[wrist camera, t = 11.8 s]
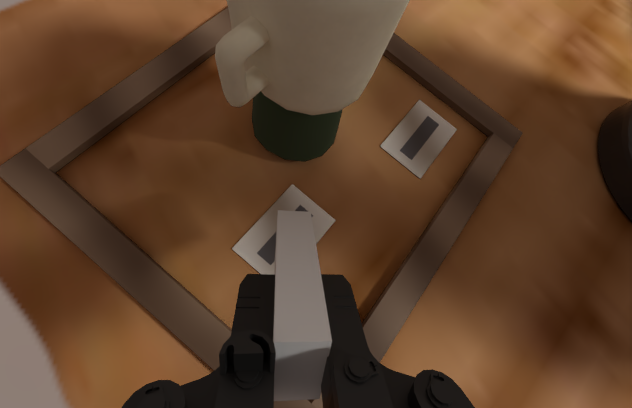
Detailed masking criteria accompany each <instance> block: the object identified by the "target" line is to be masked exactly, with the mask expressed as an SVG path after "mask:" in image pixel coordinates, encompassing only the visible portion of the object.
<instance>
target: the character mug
mask: <svg viewBox="0 0 632 408" xmlns="http://www.w3.org/2000/svg"><path fill="white" fill-rule="evenodd" d="M409 1H410V0H227V4H228V9H229V14H230V20H231V28H232V30H231V31H229V32H228V33H227V34H225V35H224V36H223V37H222V38H221V40H220V41H219V42H218V43H217V44H216V49H215V59H216V64H217V68H218V72H219V77H220V81H221V85H222V89H223V93H224V95H225V97H226V99H227V101H228V102H229V104H230V105H231V106H235V107H241V106H243V105H245V104H247V103H248V102H249V101H250V100H251V99H252V98H253V109H252V122H253V128H254V134H255V137H256V138H257V139H258V140H259V141H260V143H261V144H262V145H263V146H264V147H265V148H266V150H268V151H270V152H272V153H274V154H276V155H278V156H279V157H281V158H283V159H287V160H296V161H307V160H311V159H314V158H317V157H320V156H322V155H323V154H324V153H325V152H326V151H327V150H328V149H329V148H330V147H331V146H332V144H333V143H334V140H335V137H336V133H337V129H338V125H339V121H340V117H341V113H342V109H343V108H345V107H346V106H348V105H350V104H351V103H353V102H355V101H356V100H358V98H359V97H360V95H361V94H362V92H363V91H364V89H365V87H366V86H367V84H368V82H369V80H370V79H371V77H372V75H373V74H374V72H375V69H376V67H377V65H378V63H379V61H380V59H381V57H382V55H383V53H384V51H385V49H386V47H387V45H388V43H389V41H390V39H391V37H392V35H393V33H394V31H395V29H396V27H397V25H398V23H399V21H400V19H401V17H402V15H403V13H404V11H405V9H406V7H407V5H408V3H409Z"/></svg>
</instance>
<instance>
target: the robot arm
mask: <svg viewBox="0 0 632 408" xmlns="http://www.w3.org/2000/svg"><path fill="white" fill-rule="evenodd" d="M598 152H599V160H600V164H601V168H602V172H603V175H604V177H605V180H606V182H607V184H608V187H609V189H610V191H611V193H612V194H613V196H614V198H615V199H616V201H617V202H618V204H619V206H620V207H621V208H622V210H623V211H624V212H625V214H626V215H627V216H628V217H629V218H630V219H631V221H632V101H631V102H629V103H627V104H625V105H623V106H621V107H619V108H617V109H615V110H614V111H613V112H611V113H610V114H609V115H608V117H607V118H606V119H605V121H604V123H603V125H602V127H601V130H600V134H599V140H598ZM219 363H220V366H219V367H218V368H217V369H216V370H215V371H213V372H212V373H211V374H209V375H207V376H205V377H203V378H201V379H198V380H196V381H193V382H190V383H187V384H184V385H182V386H179V384H177V383H175V382H173V381H171V380H158V381H155V382H152V383H149V384H146V385H145V386H143V387H142V388H140V389H139V390H137V391H136V392H134V393H133V395H132V396H131V397H130V398H129V399H128V400H127V401H126V402H125V404H124V405H123V406H122V408H274V401H289V400H310V399H320V394H321V393H322V402H323V408H475V407H474V406H473V405H472V403H471V402H470V401H469V399H468V398H467V397H466V395H465V394H464V392H463V391H462V390H461V388H460V387H459V386H458V385H457V384H456V383H455V382H454V381H453V380H452V379H451V378H450V377H448V376H446V375H445V374H443V373H442V372H438V371H435V370H423V371H422V372H420V373H419V374H417V376H416V378H415V377H412V376H409V375H405V374H402V373H399V372H396V371H393V370H391V369H388V368H386V367H385V366H383V365H382V364H380V363H379V362H378V360H377V359H376V358H375V357H374V356H373V355H372V353H371V352H370V350H369V347H368V345H367V341H366V338H365V334H364V331H363V327H362V323H361V320H360V316H359V313H358V309H357V306H356V302H355V299H354V295H353V291H352V288H351V285H350V283H349V282H348V281H347V280H346V278H345V277H344V276H343V275H326V274H321V271H320V265H319V259H318V253H317V247H316V241H315V235H314V229H313V223H312V217H311V212H305V211H284V210H278V214H277V231H276V249H275V271H274V275H272V274H247V276H246V277H245V278H244V280H243V281H242V282H241V284H240V287H239V293H238V299H237V304H236V310H235V315H234V321H233V326H232V332H231V336H230V337H229V339H228V340H227V341H226V342H225V343H224V344H223V346H222V348H221V350H220V353H219Z"/></svg>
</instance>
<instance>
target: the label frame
mask: <svg viewBox="0 0 632 408" xmlns="http://www.w3.org/2000/svg"><path fill="white" fill-rule="evenodd" d="M231 30H232V28H231V20H230V14H229V9H228V7H227V8H226V9H225V10H223V11H222V12H220V13H219V14H217V15H216V16H215V17H213V18H212V19H210V20H209V21H207V22H206V23H205V24H203V25H202V26H200V27H199V28H197V29H196V30H194V31H193V32H192V33H190V34H189V35H187V36H186V37H184V38H183V39H182V40H180V41H179V42H177V43H176V44H174V45H173V46H171V47H170V48H169V49H167V50H166V51H164V52H163V53H161V54H160V55H159V56H157V57H156V58H154V59H153V60H151V61H150V62H149V63H147V64H146V65H144V66H143V67H141V68H140V69H138V70H137V71H136V72H134V73H133V74H131V75H130V76H128V77H127V78H126V79H124V80H123V81H121V82H120V83H118V84H117V85H115V86H114V87H113V88H111V89H110V90H108V91H107V92H105V93H104V94H103V95H101V96H100V97H98V98H97V99H95V100H94V101H92V102H91V103H90V104H88V105H87V106H85V107H84V108H82V109H81V110H80V111H78V112H77V113H75V114H74V115H72V116H71V117H70V118H68V119H67V120H65V121H64V122H62V123H61V124H59V125H58V126H57V127H55V128H54V129H52V130H51V131H49V132H48V133H47V134H45V135H44V136H42V137H41V138H39V139H38V140H36V141H35V142H34V143H32V144H31V145H29V146H28V147H26V148H25V149H24V150H22V151H21V152H19V153H18V154H16V155H15V156H14V157H12V158H11V159H9V160H8V161H6V162H5V163H3V164H2V165H1V166H0V177H1V178H2V179H4V180H5V181H6V182H7V183H8V184H9V185H10V186H11V187H12V188H13V189H15V190H16V191H17V192H18V193H19V194H20V195H21V196H22V197H23V198H24V199H26V200H27V201H28V202H29V203H30V204H31V205H32V206H33V207H34V208H36V209H37V210H38V211H39V212H40V213H41V214H42V215H43V216H44V217H45V218H47V219H48V220H49V221H50V222H51V223H52V224H53V225H54V226H55V227H56V228H58V229H59V230H60V231H61V232H62V233H63V234H64V235H65V236H66V237H67V238H69V239H70V240H71V241H72V242H73V243H74V244H75V245H76V246H77V247H79V248H80V249H81V250H82V251H83V252H84V253H85V254H86V255H87V256H88V257H90V258H91V259H92V260H93V261H94V262H95V263H96V264H97V265H98V266H99V267H101V268H102V269H103V270H104V271H105V272H106V273H107V274H108V275H109V276H110V277H112V278H113V279H114V280H115V281H116V282H117V283H118V284H119V285H120V286H122V287H123V288H124V289H125V290H126V291H127V292H128V293H129V294H130V295H131V296H133V297H134V298H135V299H136V300H137V301H138V302H139V303H140V304H141V305H142V306H144V307H145V308H146V309H147V310H148V311H149V312H150V313H151V314H152V315H153V316H155V317H156V318H157V319H158V320H159V321H160V322H161V323H162V324H163V325H165V326H166V327H167V328H168V329H169V330H170V331H171V332H172V333H173V334H174V335H176V336H177V337H178V338H179V339H180V340H181V341H182V342H183V343H184V344H185V345H187V346H188V347H189V348H190V349H191V350H192V351H193V352H194V353H195V354H196V355H198V356H199V357H200V358H201V359H202V360H203V361H204V362H205V363H206V364H208V365H209V366H210V367H211V368H212V369H213V370H214V371H215V370H216V369H217V368H218V367H219V366H220V363H219V353H220V350H221V348H222V346H223V344H224V343H225V342H226V341H227V340H228V339H229V337H230V336H231V332H232V330H231V329H230V328H229V327H228V326H227V325H226V324H225V323H224V322H222V321H221V320H220V319H219V318H218V317H217V316H216V315H215V314H213V313H212V312H211V311H210V310H209V309H208V308H207V307H206V306H204V305H203V304H202V303H201V302H200V301H199V300H198V299H197V298H196V297H194V296H193V295H192V294H191V293H190V292H189V291H188V290H187V289H185V288H184V287H183V286H182V285H181V284H180V283H179V282H178V281H176V280H175V279H174V278H173V277H172V276H171V275H170V274H169V273H167V272H166V271H165V270H164V269H163V268H162V267H161V266H160V265H158V264H157V263H156V262H155V261H154V260H153V259H152V258H151V257H150V256H148V255H147V254H146V253H145V252H144V251H143V250H142V249H141V248H139V247H138V246H137V245H136V244H135V243H134V242H133V241H132V240H130V239H129V238H128V237H127V236H126V235H125V234H124V233H123V232H121V231H120V230H119V229H118V228H117V227H116V226H115V225H114V224H112V223H111V222H110V221H109V220H108V219H107V218H106V217H105V216H104V215H102V214H101V213H100V212H99V211H98V210H97V209H96V208H95V207H93V206H92V205H91V204H90V203H89V202H88V201H87V200H86V199H84V198H83V197H82V196H81V195H80V194H79V193H78V192H77V191H75V190H74V189H73V188H72V187H71V186H70V185H69V184H68V183H66V182H65V181H64V180H63V179H62V178H61V177H60V176H59V175H58V174H56V172H57V171H58V170H60V169H61V168H62V167H64V166H65V165H66V164H68V163H69V162H70V161H72V160H73V159H74V158H76V157H77V156H78V155H80V154H81V153H82V152H84V151H85V150H86V149H88V148H89V147H90V146H92V145H93V144H94V143H96V142H97V141H98V140H100V139H101V138H102V137H104V136H105V135H106V134H108V133H109V132H110V131H112V130H113V129H114V128H116V127H117V126H118V125H120V124H121V123H122V122H124V121H125V120H126V119H128V118H129V117H130V116H132V115H133V114H134V113H136V112H137V111H138V110H140V109H141V108H142V107H144V106H145V105H146V104H148V103H149V102H150V101H152V100H153V99H154V98H156V97H157V96H158V95H160V94H161V93H162V92H164V91H165V90H166V89H168V88H169V87H170V86H172V85H173V84H174V83H176V82H177V81H178V80H180V79H181V78H182V77H183V76H185V75H186V74H187V73H189V72H190V71H191V70H193V69H194V68H195V67H197V66H198V65H199V64H201V63H202V62H203V61H205V60H206V59H207V58H209V57H210V56H211V55H213V54H214V53H215V49H216V44H217V43H218V42H219V41H220V40H221V38H222V37H223V36H224V35H225V34H227V33H228V32H229V31H231ZM383 55H385V56H386V57H387V58H389V59H390V60H391V61H392V62H394V63H395V64H396V65H397V66H399V67H400V68H401V69H403V70H404V71H405V72H406V73H408V74H409V75H410V76H412V77H413V78H414V79H415V80H417V81H418V82H419V83H420V84H422V85H423V86H424V87H426V88H427V89H428V90H429V91H431V92H432V93H433V94H434V95H436V96H437V97H438V98H440V99H441V100H442V101H443V102H445V103H446V104H447V105H449V106H450V107H451V108H452V109H454V110H455V111H456V112H457V113H459V114H460V115H461V116H463V117H464V118H465V119H466V120H468V121H469V122H470V123H471V124H473V125H474V126H475V127H477V128H478V129H479V130H480V131H482V132H483V133H484V134H486V135H487V136H488V138H487V140H486V141H485V143H484V144H483V145H482V147H481V148H480V150H479V151H478V153H477V154H476V156H475V157H474V159H473V160H472V162H471V163H470V165H469V166H468V168H467V169H466V171H465V172H464V174H463V175H462V176H461V178H460V179H459V181H458V182H457V184H456V185H455V187H454V188H453V190H452V191H451V193H450V194H449V196H448V197H447V199H446V200H445V202H444V203H443V205H442V206H441V207H440V209H439V210H438V212H437V213H436V215H435V216H434V218H433V219H432V221H431V222H430V224H429V225H428V227H427V228H426V230H425V231H424V233H423V234H422V235H421V237H420V238H419V240H418V241H417V243H416V244H415V246H414V247H413V249H412V250H411V252H410V253H409V255H408V256H407V258H406V259H405V261H404V262H403V264H402V265H401V266H400V268H399V269H398V271H397V272H396V274H395V275H394V277H393V278H392V280H391V281H390V283H389V284H388V286H387V287H386V289H385V290H384V292H383V293H382V295H381V296H380V297H379V299H378V300H377V302H376V303H375V305H374V306H373V308H372V309H371V311H370V312H369V314H368V315H367V317H366V318H365V320H364V321H363V323H362V327H363V331H364V334H365V338H366V341H367V345H368V347H369V350H370V352H371V353H372V355H373V356H374V357H375V358H376V359H377V360H378V362H379V363H380V361H381V360H382V358H383V356H384V355H385V353H386V352H387V350H388V348H389V347H390V345H391V343H392V342H393V340H394V339H395V337H396V335H397V334H398V332H399V331H400V329H401V327H402V326H403V324H404V323H405V321H406V319H407V318H408V316H409V315H410V313H411V311H412V310H413V308H414V307H415V305H416V303H417V302H418V300H419V299H420V297H421V295H422V294H423V292H424V291H425V289H426V287H427V286H428V284H429V283H430V281H431V279H432V278H433V276H434V274H435V273H436V271H437V270H438V268H439V266H440V265H441V263H442V262H443V260H444V258H445V257H446V255H447V254H448V252H449V250H450V249H451V247H452V246H453V244H454V242H455V241H456V239H457V238H458V236H459V234H460V233H461V231H462V230H463V228H464V226H465V225H466V223H467V222H468V220H469V218H470V217H471V215H472V214H473V212H474V210H475V209H476V207H477V205H478V204H479V202H480V201H481V199H482V197H483V196H484V194H485V193H486V191H487V189H488V188H489V186H490V185H491V183H492V181H493V180H494V178H495V177H496V175H497V173H498V172H499V170H500V169H501V167H502V165H503V164H504V162H505V161H506V159H507V157H508V156H509V154H510V153H511V151H512V149H513V148H514V146H515V145H516V143H517V141H518V140H519V138H520V136H521V135H522V132H521V131H520V130H518V129H517V128H516V127H515V126H513V125H512V124H511V123H509V122H508V121H507V120H506V119H504V118H503V117H502V116H500V115H499V114H498V113H497V112H495V111H494V110H493V109H491V108H490V107H489V106H488V105H486V104H485V103H484V102H482V101H481V100H480V99H478V98H477V97H476V96H475V95H473V94H472V93H471V92H469V91H468V90H467V89H466V88H464V87H463V86H462V85H460V84H459V83H458V82H457V81H455V80H454V79H453V78H451V77H450V76H449V75H448V74H446V73H445V72H444V71H442V70H441V69H440V68H439V67H437V66H436V65H435V64H433V63H432V62H431V61H430V60H428V59H427V58H426V57H424V56H423V55H422V54H420V53H419V52H418V51H417V50H415V49H414V48H413V47H411V46H410V45H409V44H408V43H406V42H405V41H404V40H402V39H401V38H400V37H399V36H397V35H396V34H395V33H393V35H392V37H391V39H390V41H389V43H388V45H387V47H386V49H385V51H384V53H383ZM456 130H457V129H456V128H455V127H454V126H452V125H451V124H450V123H449V122H447V121H446V120H445V119H443V118H442V117H441V116H440V115H438V114H437V113H436V112H435V111H433V110H432V109H431V108H429V107H428V106H427V105H426V104H424V103H423V102H422V101H421V100H419V101H418V102H417V103H416V104H415V105H414V107H413V108H412V109H411V110H410V111H409V113H408V114H407V115H406V116H405V117H404V118H403V120H402V121H401V122H400V123H399V124H398V125H397V127H396V128H395V129H394V130H393V131H392V133H391V134H390V135H389V136H388V137H387V138H386V140H385V141H384V142H383V143H382V144H381V146H380V147H381V148H383V149H384V150H385V151H386V152H388V153H389V154H390V155H391V156H392V157H394V158H395V159H396V160H397V161H399V162H400V163H401V164H402V165H404V166H405V167H406V168H407V169H409V170H410V171H411V172H412V173H413V174H415V175H416V176H417V177H418V178H420V179H421V177H422V176H423V175H424V173H425V172H426V171H427V169H428V168H429V166H430V165H431V164H432V162H433V161H434V160H435V158H436V157H437V156H438V154H439V153H440V152H441V150H442V149H443V148H444V146H445V145H446V144H447V142H448V141H449V139H450V138H451V137H452V135H453V134H454V133H455V131H456ZM278 210H284V211H305V212H311V217H312V223H313V229H314V235H315V241H316V244H317V243H318V241H319V240H320V239H321V238H322V237H323V235H324V234H325V233H326V232H327V230H328V229H329V228H330V227H331V226H332V224H333V223H334V222H335V221H336V220H335V219H334V218H332V217H331V216H330V215H329V214H328V213H327V212H325V211H324V210H323V209H322V208H321V207H319V206H318V205H317V204H316V203H315V202H313V201H312V200H311V199H310V198H309V197H307V196H306V195H305V194H304V193H303V192H301V191H300V190H299V189H298V188H297V187H295V186H294V185H293V184H292V185H291V186H290V187H289V188H288V189H287V190H286V191H285V192H284V193H283V194H282V196H281V197H280V198H279V199H278V200H277V201H276V202H275V203H274V204H273V205H272V206H271V207H270V208H269V209H268V210H267V212H266V213H265V214H264V215H263V216H262V217H261V218H260V219H259V220H258V221H257V222H256V223H255V224H254V225H253V227H252V228H251V229H250V230H249V231H248V232H247V233H246V234H245V235H244V236H243V237H242V238H241V239H240V240H239V241H238V243H237V244H236V245H235V246H234V247H233V248H232V249H233V250H234V251H235V252H236V253H237V254H238V255H239V256H241V257H242V258H243V259H244V260H245V261H246V262H248V263H249V264H250V265H251V266H252V267H253V268H254V269H256V270H257V271H258V272H259V273H260V274H272V275H274V271H275V249H276V231H277V214H278ZM274 408H323V402H322V393H321V394H320V399H310V400H289V401H274Z"/></svg>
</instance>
